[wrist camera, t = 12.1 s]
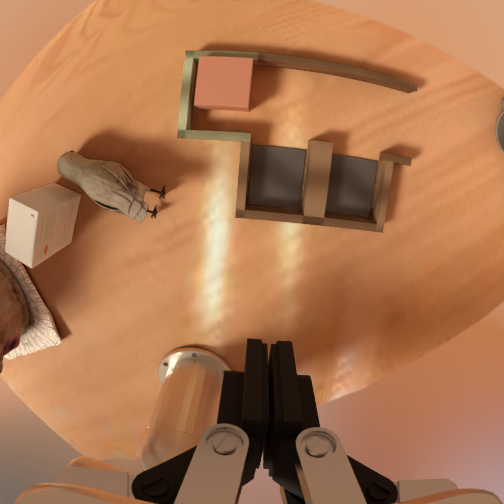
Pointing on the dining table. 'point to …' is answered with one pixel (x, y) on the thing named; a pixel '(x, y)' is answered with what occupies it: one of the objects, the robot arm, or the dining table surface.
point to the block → (224, 83)
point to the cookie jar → (21, 310)
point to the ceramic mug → (500, 129)
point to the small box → (40, 223)
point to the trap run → (302, 158)
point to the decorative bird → (107, 184)
